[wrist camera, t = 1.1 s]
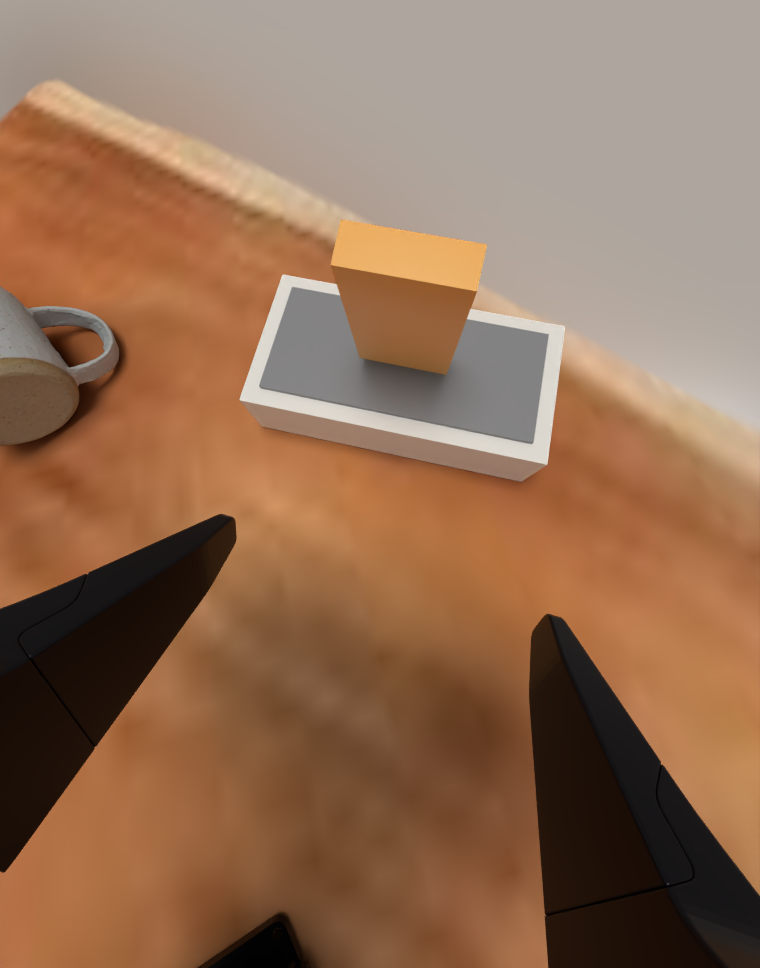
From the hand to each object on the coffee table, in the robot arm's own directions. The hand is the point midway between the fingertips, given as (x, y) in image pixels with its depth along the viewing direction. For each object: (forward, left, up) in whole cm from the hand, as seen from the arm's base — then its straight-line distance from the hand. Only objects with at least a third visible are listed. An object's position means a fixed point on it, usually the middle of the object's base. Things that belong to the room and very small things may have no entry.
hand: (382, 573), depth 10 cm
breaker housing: (+7, +10, -13) cm, 18 cm away
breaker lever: (+7, +10, -9) cm, 15 cm away
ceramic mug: (-14, +24, -13) cm, 31 cm away
